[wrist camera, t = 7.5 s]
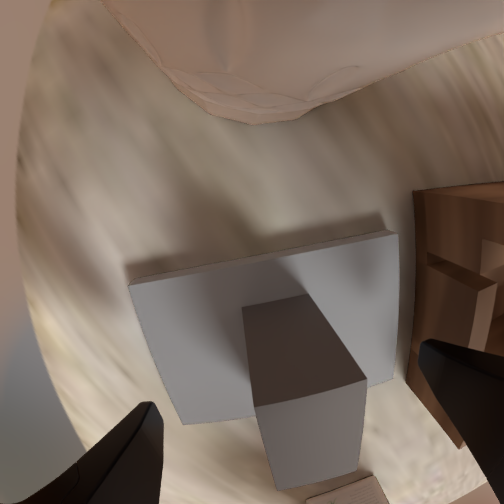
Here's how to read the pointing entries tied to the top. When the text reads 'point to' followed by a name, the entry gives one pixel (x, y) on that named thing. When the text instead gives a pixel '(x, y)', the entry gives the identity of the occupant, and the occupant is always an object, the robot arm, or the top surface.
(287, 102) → the beige cup
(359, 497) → the syrup box
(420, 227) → the walnut box
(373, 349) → the cover plate
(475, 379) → the robot arm
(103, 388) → the top surface
